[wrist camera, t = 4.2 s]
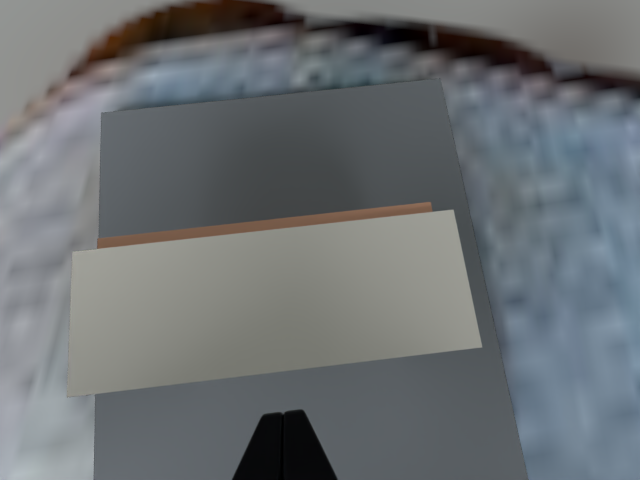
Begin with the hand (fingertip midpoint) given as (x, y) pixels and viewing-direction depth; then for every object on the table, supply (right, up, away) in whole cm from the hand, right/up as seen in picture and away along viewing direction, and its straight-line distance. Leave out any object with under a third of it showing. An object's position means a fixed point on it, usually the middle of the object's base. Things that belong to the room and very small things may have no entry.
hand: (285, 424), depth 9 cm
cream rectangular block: (0, +1, +7) cm, 7 cm away
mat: (0, +2, +8) cm, 8 cm away
